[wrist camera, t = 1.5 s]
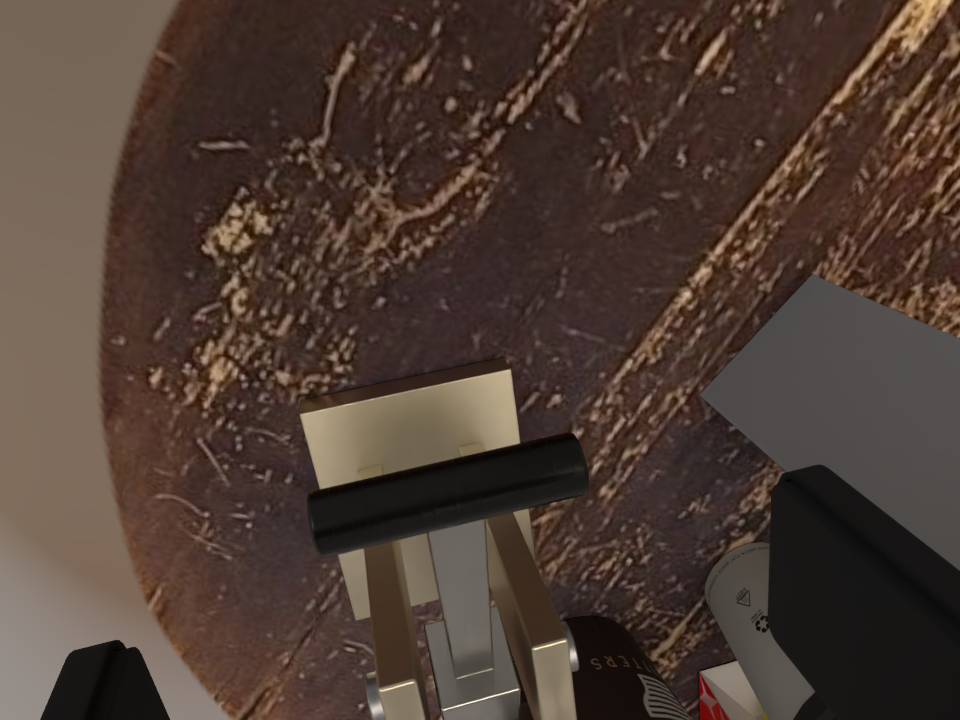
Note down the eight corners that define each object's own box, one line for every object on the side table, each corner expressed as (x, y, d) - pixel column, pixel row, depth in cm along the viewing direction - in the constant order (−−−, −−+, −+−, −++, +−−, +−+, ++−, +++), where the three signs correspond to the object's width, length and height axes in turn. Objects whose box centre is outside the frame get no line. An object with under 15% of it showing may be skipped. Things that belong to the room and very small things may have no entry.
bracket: (299, 400, 27) (288, 621, 16) (503, 356, 28) (617, 538, 18) (354, 601, 31) (373, 883, 21) (530, 557, 32) (635, 802, 22)
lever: (300, 452, 13) (313, 572, 12) (561, 394, 14) (605, 500, 12) (386, 669, 22) (400, 753, 21) (541, 627, 23) (565, 706, 21)
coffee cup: (704, 656, 37) (828, 848, 28) (663, 565, 34) (789, 747, 25) (823, 594, 37) (985, 765, 28) (793, 497, 34) (964, 654, 25)
